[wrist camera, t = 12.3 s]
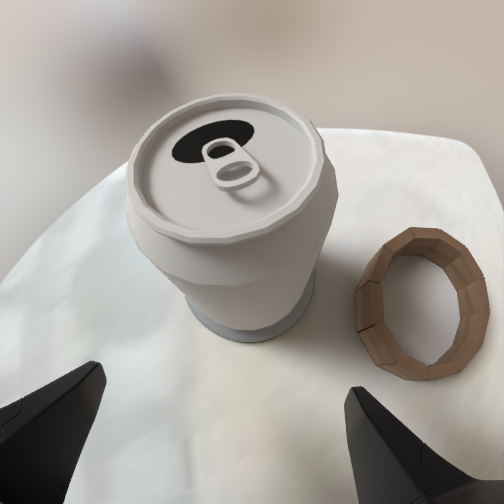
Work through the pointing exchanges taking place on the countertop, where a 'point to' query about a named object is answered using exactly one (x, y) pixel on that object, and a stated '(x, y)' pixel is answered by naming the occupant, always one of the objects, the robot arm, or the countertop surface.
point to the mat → (263, 332)
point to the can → (233, 204)
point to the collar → (469, 298)
